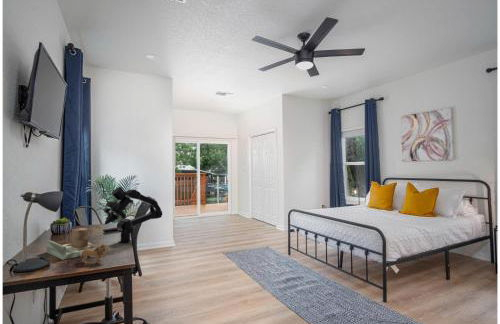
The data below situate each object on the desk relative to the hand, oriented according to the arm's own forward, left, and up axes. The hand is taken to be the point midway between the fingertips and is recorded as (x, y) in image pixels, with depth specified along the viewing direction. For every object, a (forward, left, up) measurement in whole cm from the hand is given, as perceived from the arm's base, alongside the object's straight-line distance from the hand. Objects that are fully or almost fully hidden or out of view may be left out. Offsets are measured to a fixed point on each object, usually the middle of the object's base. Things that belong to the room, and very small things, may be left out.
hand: (105, 224), depth 182 cm
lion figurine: (+30, +14, -14) cm, 36 cm away
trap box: (+15, -9, -14) cm, 22 cm away
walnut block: (+13, -7, -11) cm, 18 cm away
